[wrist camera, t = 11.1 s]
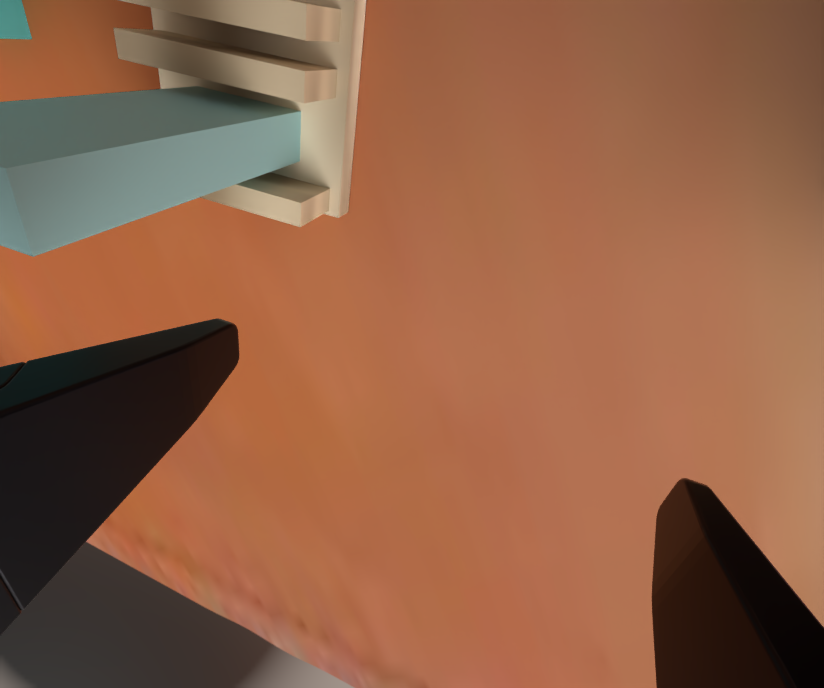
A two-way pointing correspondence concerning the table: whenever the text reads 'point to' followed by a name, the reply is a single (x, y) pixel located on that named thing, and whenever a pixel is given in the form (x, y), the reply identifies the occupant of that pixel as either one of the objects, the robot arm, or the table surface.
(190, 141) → the teal panel
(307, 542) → the table surface
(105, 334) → the table surface
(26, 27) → the alien figure
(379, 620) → the table surface
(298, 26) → the birch rack
